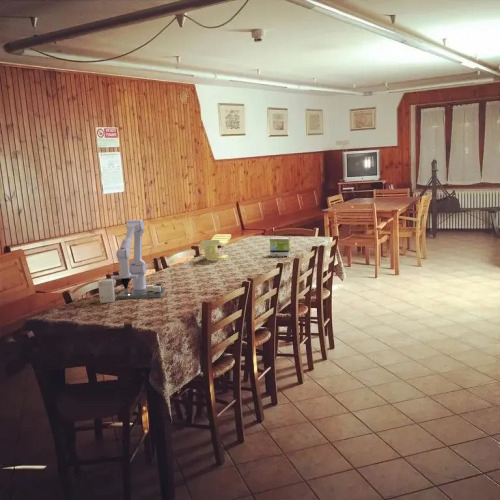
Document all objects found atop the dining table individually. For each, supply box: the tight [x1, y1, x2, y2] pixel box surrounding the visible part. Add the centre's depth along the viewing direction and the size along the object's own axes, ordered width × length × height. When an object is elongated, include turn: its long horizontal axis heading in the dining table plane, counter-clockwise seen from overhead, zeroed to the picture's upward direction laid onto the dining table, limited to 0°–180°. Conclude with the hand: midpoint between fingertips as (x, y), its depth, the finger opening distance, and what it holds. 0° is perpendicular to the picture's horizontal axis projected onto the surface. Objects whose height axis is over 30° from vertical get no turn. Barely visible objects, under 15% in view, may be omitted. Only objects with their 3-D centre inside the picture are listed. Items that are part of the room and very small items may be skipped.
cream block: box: [145, 284, 155, 291], centre depth 325 cm, size 3×4×3 cm
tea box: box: [269, 236, 291, 257], centre depth 431 cm, size 15×10×15 cm
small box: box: [97, 277, 117, 304], centre depth 312 cm, size 8×6×13 cm
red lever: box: [123, 285, 132, 295], centre depth 321 cm, size 9×2×3 cm, turn 178°
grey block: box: [153, 285, 162, 292], centre depth 321 cm, size 3×4×3 cm
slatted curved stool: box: [199, 233, 232, 261], centre depth 429 cm, size 30×16×18 cm, turn 164°
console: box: [116, 285, 166, 300], centre depth 322 cm, size 14×26×4 cm, turn 89°
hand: (126, 290), depth 322 cm, fingers closed
